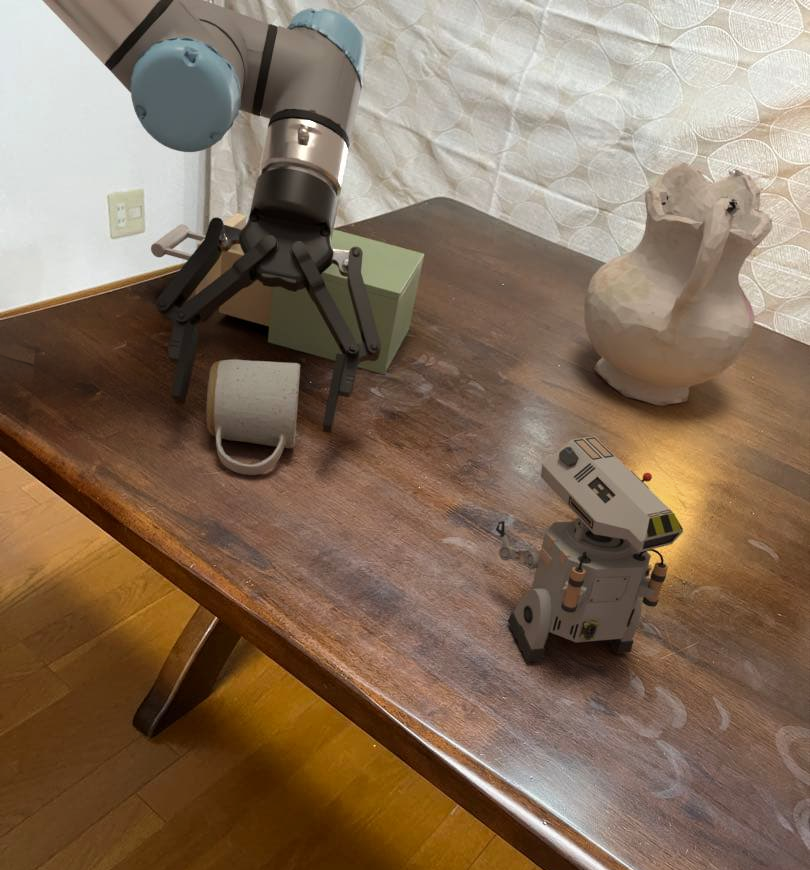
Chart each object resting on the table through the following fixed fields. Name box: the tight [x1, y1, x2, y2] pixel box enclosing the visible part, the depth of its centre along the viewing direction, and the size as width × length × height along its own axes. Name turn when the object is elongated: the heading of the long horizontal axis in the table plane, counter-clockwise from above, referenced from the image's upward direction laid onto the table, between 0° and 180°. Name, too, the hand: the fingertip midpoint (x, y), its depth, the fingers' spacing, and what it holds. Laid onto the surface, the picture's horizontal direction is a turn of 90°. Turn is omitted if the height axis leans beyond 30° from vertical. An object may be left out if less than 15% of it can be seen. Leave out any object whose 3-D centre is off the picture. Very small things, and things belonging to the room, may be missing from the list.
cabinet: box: [267, 229, 425, 375], centre depth 98 cm, size 14×13×10 cm
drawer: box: [150, 212, 273, 327], centre depth 98 cm, size 19×11×8 cm, turn 77°
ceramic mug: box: [205, 359, 301, 476], centre depth 78 cm, size 11×8×8 cm
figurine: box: [495, 435, 684, 662], centre depth 64 cm, size 9×12×15 cm
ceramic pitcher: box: [583, 161, 773, 407], centre depth 98 cm, size 22×20×25 cm
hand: (252, 415), depth 76 cm, fingers open, 12 cm apart
